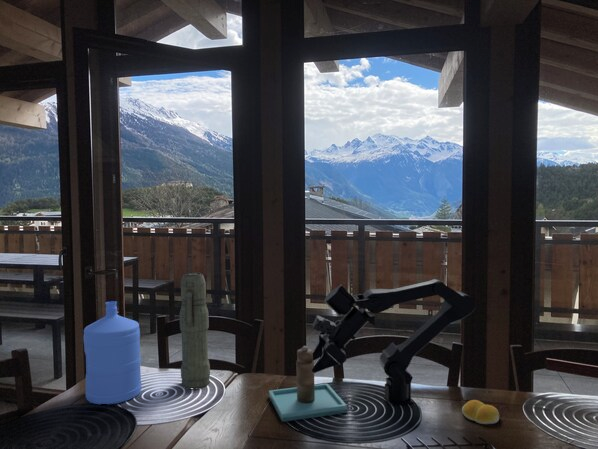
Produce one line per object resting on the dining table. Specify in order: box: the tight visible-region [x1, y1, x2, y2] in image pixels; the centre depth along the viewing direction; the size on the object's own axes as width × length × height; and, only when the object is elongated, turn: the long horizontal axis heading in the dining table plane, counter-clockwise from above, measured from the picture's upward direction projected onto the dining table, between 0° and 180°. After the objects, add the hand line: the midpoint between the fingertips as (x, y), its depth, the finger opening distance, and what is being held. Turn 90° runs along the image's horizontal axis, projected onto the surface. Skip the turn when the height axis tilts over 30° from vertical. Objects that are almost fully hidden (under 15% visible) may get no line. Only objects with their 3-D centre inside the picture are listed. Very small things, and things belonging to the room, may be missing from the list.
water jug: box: [83, 300, 142, 405], centre depth 141 cm, size 16×16×28 cm
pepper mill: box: [295, 345, 315, 403], centre depth 134 cm, size 5×5×15 cm
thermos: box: [179, 272, 211, 390], centre depth 149 cm, size 9×12×35 cm
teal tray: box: [268, 383, 348, 423], centre depth 133 cm, size 18×16×2 cm
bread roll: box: [461, 399, 500, 425], centre depth 125 cm, size 8×9×4 cm
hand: (311, 365), depth 134 cm, fingers open, 9 cm apart
